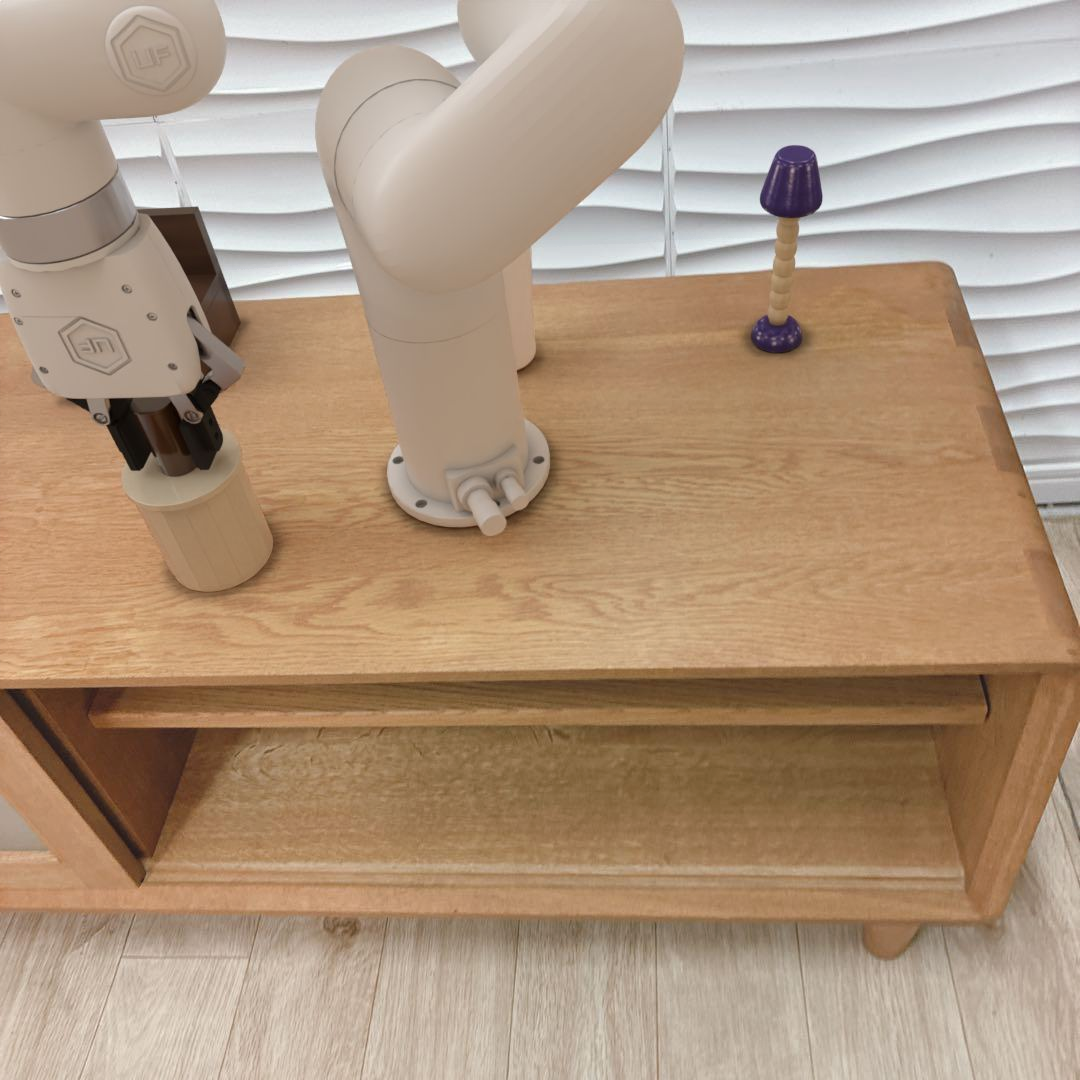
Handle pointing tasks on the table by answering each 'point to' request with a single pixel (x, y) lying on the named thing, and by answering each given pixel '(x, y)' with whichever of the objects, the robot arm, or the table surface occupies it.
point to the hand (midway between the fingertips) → (176, 454)
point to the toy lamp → (786, 239)
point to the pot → (214, 538)
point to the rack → (198, 267)
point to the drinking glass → (521, 307)
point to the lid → (175, 462)
